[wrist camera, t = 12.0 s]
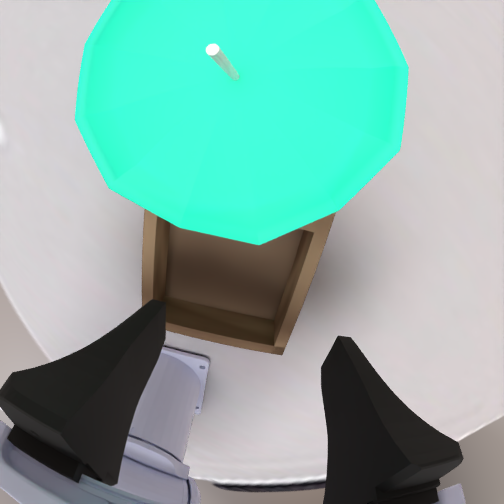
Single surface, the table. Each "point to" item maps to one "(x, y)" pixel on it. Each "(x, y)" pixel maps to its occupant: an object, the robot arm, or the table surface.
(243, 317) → the divided wooden tray
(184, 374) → the robot arm
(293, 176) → the candle
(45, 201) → the table surface
